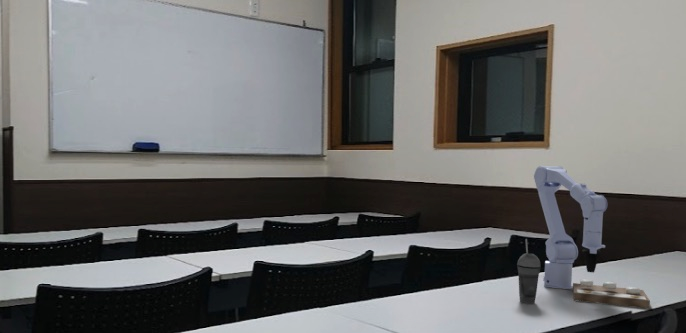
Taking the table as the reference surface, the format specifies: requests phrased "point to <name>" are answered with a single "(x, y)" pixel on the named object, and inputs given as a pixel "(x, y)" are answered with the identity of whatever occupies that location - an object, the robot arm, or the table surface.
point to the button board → (610, 296)
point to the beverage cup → (528, 276)
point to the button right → (632, 290)
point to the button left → (586, 283)
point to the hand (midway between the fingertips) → (590, 271)
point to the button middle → (609, 285)
